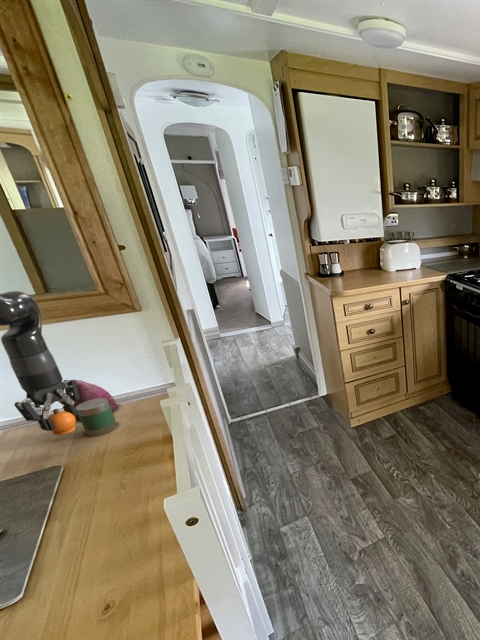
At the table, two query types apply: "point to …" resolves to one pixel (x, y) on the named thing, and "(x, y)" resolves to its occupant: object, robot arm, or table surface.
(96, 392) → the vegetable
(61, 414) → the pumpkin
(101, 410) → the tin
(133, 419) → the table surface
